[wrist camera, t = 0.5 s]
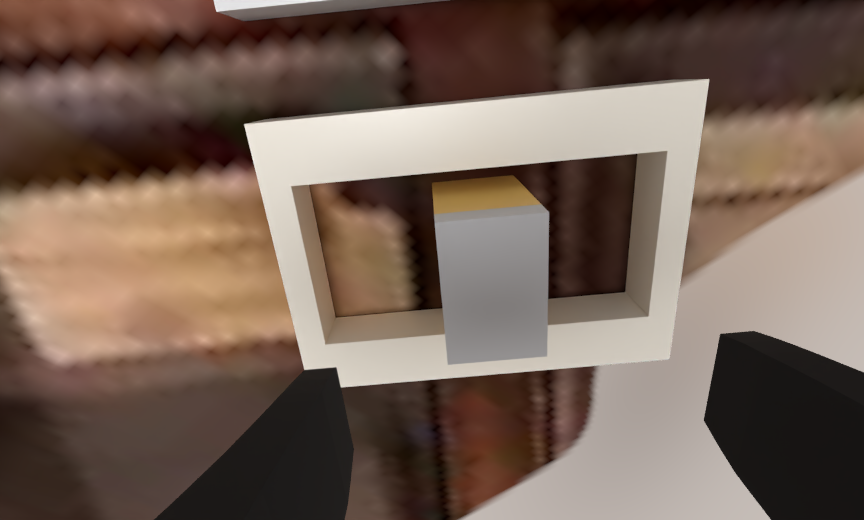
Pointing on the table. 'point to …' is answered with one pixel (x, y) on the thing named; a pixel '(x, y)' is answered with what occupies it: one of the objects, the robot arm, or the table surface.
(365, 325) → the cream rectangular frame
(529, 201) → the tan and grey block
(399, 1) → the parts tray
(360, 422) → the table surface
